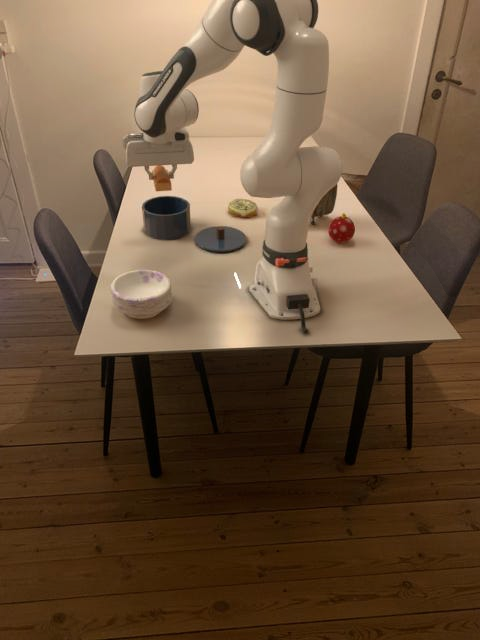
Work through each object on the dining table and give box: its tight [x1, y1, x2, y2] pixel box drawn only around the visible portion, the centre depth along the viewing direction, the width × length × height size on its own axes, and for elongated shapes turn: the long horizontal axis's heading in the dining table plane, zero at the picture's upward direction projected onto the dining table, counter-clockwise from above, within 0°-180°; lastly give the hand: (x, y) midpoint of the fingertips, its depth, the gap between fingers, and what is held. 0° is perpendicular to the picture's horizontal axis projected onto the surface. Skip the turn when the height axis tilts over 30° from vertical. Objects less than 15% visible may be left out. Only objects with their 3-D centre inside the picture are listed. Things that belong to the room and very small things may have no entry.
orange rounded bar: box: [151, 165, 173, 192], centre depth 149 cm, size 11×5×4 cm, turn 13°
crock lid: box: [194, 225, 247, 253], centre depth 158 cm, size 17×17×5 cm
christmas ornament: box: [327, 212, 356, 244], centre depth 158 cm, size 9×9×10 cm
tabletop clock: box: [310, 183, 338, 226], centre depth 164 cm, size 14×9×25 cm, turn 108°
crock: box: [141, 195, 192, 241], centre depth 163 cm, size 16×16×8 cm
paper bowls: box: [110, 269, 173, 320], centre depth 126 cm, size 15×15×8 cm
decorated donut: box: [227, 198, 259, 218], centre depth 176 cm, size 10×11×4 cm
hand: (161, 178), depth 149 cm, fingers closed on orange rounded bar, 5 cm apart
